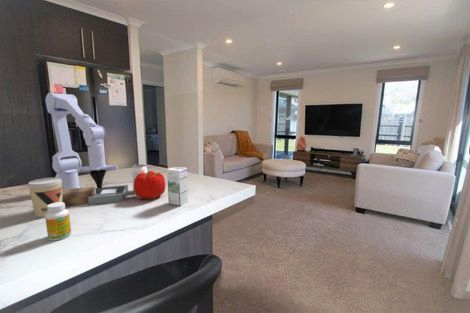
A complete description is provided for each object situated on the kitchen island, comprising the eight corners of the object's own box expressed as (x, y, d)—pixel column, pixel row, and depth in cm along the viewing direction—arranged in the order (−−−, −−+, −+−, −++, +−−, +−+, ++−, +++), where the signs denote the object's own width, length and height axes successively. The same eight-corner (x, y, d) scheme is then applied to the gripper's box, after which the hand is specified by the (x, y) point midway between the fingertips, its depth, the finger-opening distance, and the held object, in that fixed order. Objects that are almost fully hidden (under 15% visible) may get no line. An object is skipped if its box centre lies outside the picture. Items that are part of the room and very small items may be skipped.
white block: (115, 192, 97) (115, 197, 98) (116, 188, 103) (117, 193, 103) (100, 193, 96) (100, 199, 96) (102, 189, 101) (103, 195, 101)
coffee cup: (38, 220, 77) (33, 185, 75) (28, 214, 82) (23, 181, 80) (70, 211, 85) (66, 179, 83) (58, 206, 90) (54, 175, 88)
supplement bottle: (59, 241, 64) (55, 208, 63) (43, 240, 65) (38, 207, 64) (75, 232, 70) (72, 201, 68) (60, 231, 70) (56, 200, 69)
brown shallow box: (50, 207, 89) (49, 197, 88) (60, 198, 98) (59, 189, 97) (90, 203, 93) (89, 193, 92) (95, 195, 102) (94, 186, 102)
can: (143, 193, 105) (141, 167, 103) (130, 192, 107) (128, 166, 105) (150, 189, 112) (149, 164, 110) (138, 188, 113) (137, 164, 111)
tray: (88, 205, 91) (88, 197, 91) (96, 194, 104) (95, 187, 104) (125, 201, 95) (124, 194, 95) (128, 191, 108) (127, 184, 108)
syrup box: (188, 201, 96) (187, 167, 93) (180, 206, 90) (179, 170, 88) (176, 199, 97) (175, 166, 95) (168, 204, 92) (166, 169, 89)
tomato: (162, 201, 95) (160, 177, 93) (128, 202, 94) (127, 177, 92) (169, 191, 108) (168, 169, 107) (140, 191, 108) (138, 169, 106)
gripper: (73, 158, 89) (76, 192, 92) (115, 156, 94) (117, 188, 97) (78, 155, 96) (81, 187, 98) (117, 154, 101) (119, 184, 103)
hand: (99, 187), depth 98 cm, fingers closed
